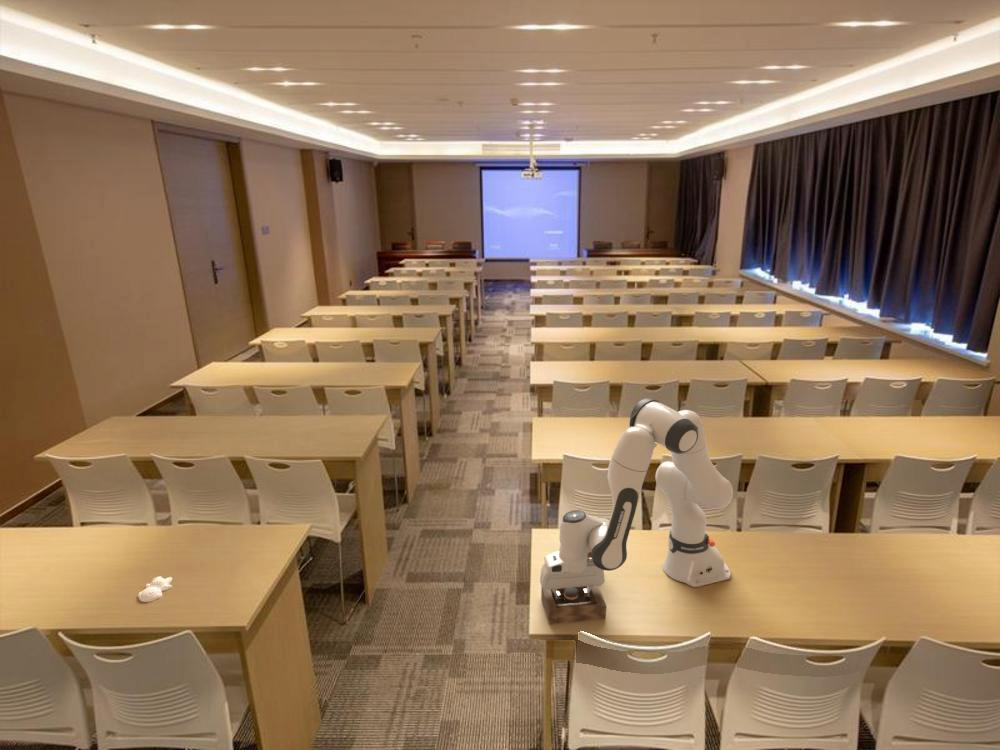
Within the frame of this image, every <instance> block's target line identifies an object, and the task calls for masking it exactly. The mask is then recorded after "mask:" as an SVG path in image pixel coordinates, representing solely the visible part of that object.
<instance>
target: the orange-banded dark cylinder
mask: <svg viewBox="0 0 1000 750" xmlns="http://www.w3.org/2000/svg"><path fill="white" fill-rule="evenodd" d="M578 601H579V597H578V590H577V589H576V588H575V587H572V588H565V590H564V599H563V604H568V603H579V602H578Z"/></svg>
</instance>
